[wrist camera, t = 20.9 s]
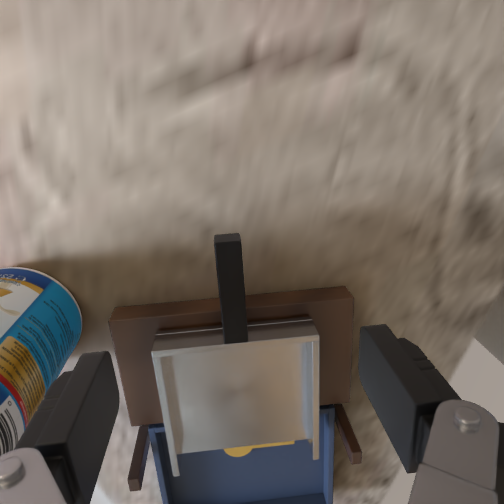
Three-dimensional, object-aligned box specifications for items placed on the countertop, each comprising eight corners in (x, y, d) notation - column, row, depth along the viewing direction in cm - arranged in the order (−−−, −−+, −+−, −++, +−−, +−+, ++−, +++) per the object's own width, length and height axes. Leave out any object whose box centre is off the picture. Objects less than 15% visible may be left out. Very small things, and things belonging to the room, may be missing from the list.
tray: (328, 392, 34) (335, 408, 32) (327, 492, 38) (332, 510, 37) (151, 411, 33) (147, 429, 31) (170, 511, 37) (168, 531, 36)
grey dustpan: (310, 222, 26) (319, 234, 24) (311, 434, 32) (319, 459, 30) (140, 236, 25) (132, 249, 23) (176, 449, 32) (173, 476, 29)
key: (224, 454, 35) (224, 458, 35) (221, 432, 34) (221, 435, 34) (293, 447, 35) (294, 451, 35) (293, 424, 34) (294, 428, 34)
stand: (345, 285, 30) (369, 320, 26) (341, 414, 35) (361, 463, 30) (114, 307, 29) (95, 347, 25) (141, 436, 34) (129, 491, 29)
